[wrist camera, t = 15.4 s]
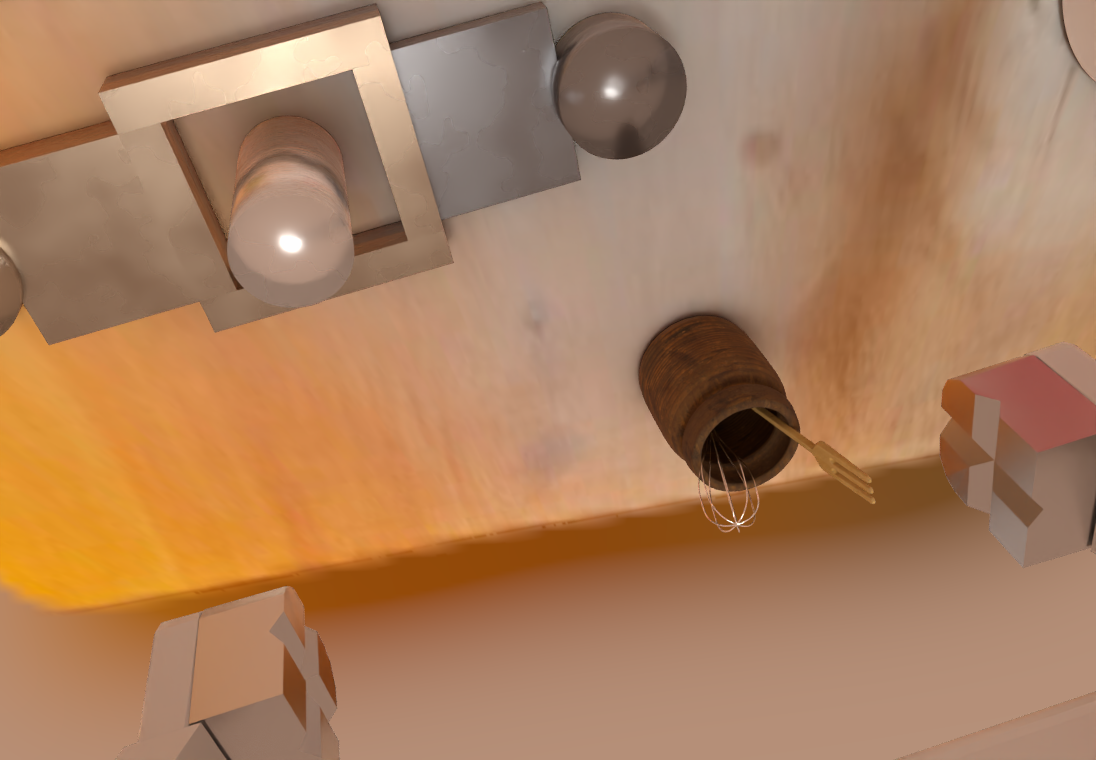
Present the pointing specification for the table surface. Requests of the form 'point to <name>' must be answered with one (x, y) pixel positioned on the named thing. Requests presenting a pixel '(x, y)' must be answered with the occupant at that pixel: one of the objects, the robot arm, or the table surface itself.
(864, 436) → the table surface
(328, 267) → the steel pin
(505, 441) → the table surface
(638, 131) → the lower chain link
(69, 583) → the table surface
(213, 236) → the upper chain link
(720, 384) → the utensil holder
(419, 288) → the table surface
